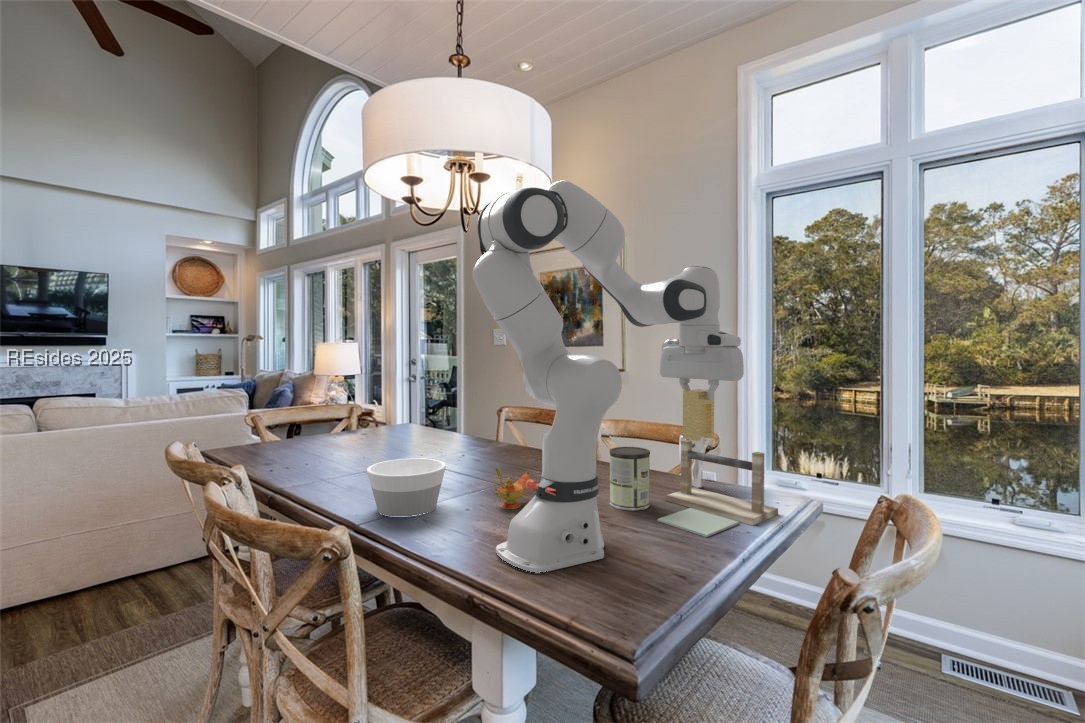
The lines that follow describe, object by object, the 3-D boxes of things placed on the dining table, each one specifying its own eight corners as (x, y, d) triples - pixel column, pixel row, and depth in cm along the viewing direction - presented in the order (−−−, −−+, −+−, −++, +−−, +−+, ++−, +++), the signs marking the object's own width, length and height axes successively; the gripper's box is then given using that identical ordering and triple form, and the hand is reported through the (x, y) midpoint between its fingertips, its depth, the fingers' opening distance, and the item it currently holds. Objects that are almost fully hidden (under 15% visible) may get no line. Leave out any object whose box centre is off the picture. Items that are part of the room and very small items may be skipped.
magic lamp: (542, 497, 136) (542, 456, 136) (506, 516, 120) (506, 470, 120) (520, 493, 139) (520, 454, 139) (483, 512, 123) (482, 467, 123)
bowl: (385, 527, 113) (384, 480, 112) (355, 507, 127) (355, 465, 127) (460, 510, 125) (460, 467, 125) (425, 493, 140) (424, 454, 139)
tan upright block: (697, 440, 112) (698, 391, 112) (682, 438, 115) (683, 390, 115) (713, 437, 116) (714, 390, 116) (698, 435, 119) (699, 389, 119)
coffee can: (615, 496, 136) (616, 445, 136) (653, 501, 132) (654, 448, 132) (604, 507, 127) (604, 452, 127) (644, 513, 123) (644, 455, 122)
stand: (752, 525, 114) (753, 457, 114) (666, 500, 133) (666, 442, 132) (778, 514, 122) (778, 450, 121) (692, 492, 140) (693, 437, 140)
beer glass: (700, 483, 150) (701, 433, 149) (705, 490, 143) (706, 437, 142) (676, 483, 150) (677, 433, 150) (680, 489, 143) (681, 437, 143)
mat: (706, 537, 107) (706, 534, 107) (657, 521, 117) (657, 518, 117) (739, 523, 115) (739, 521, 115) (690, 509, 125) (690, 507, 125)
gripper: (654, 339, 121) (653, 396, 121) (732, 337, 105) (731, 403, 105) (670, 339, 125) (669, 394, 125) (747, 338, 109) (747, 401, 109)
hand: (698, 398), depth 115 cm, fingers closed on tan upright block, 4 cm apart
